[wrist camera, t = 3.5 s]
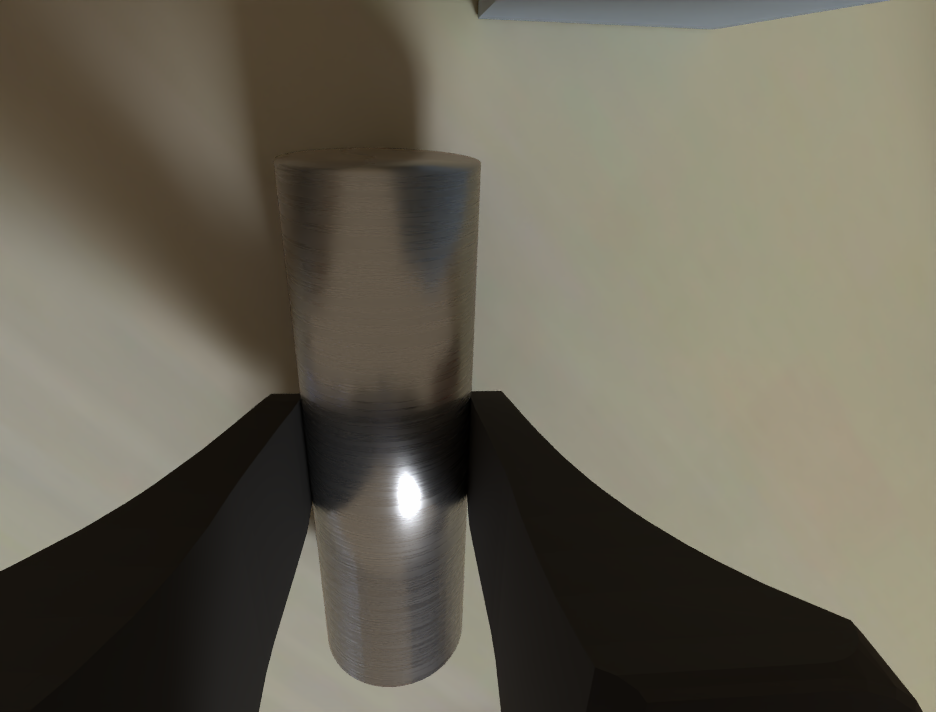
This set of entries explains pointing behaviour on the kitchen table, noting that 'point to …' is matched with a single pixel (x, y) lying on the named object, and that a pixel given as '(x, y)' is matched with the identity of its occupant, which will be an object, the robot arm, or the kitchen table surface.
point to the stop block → (658, 11)
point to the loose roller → (385, 392)
